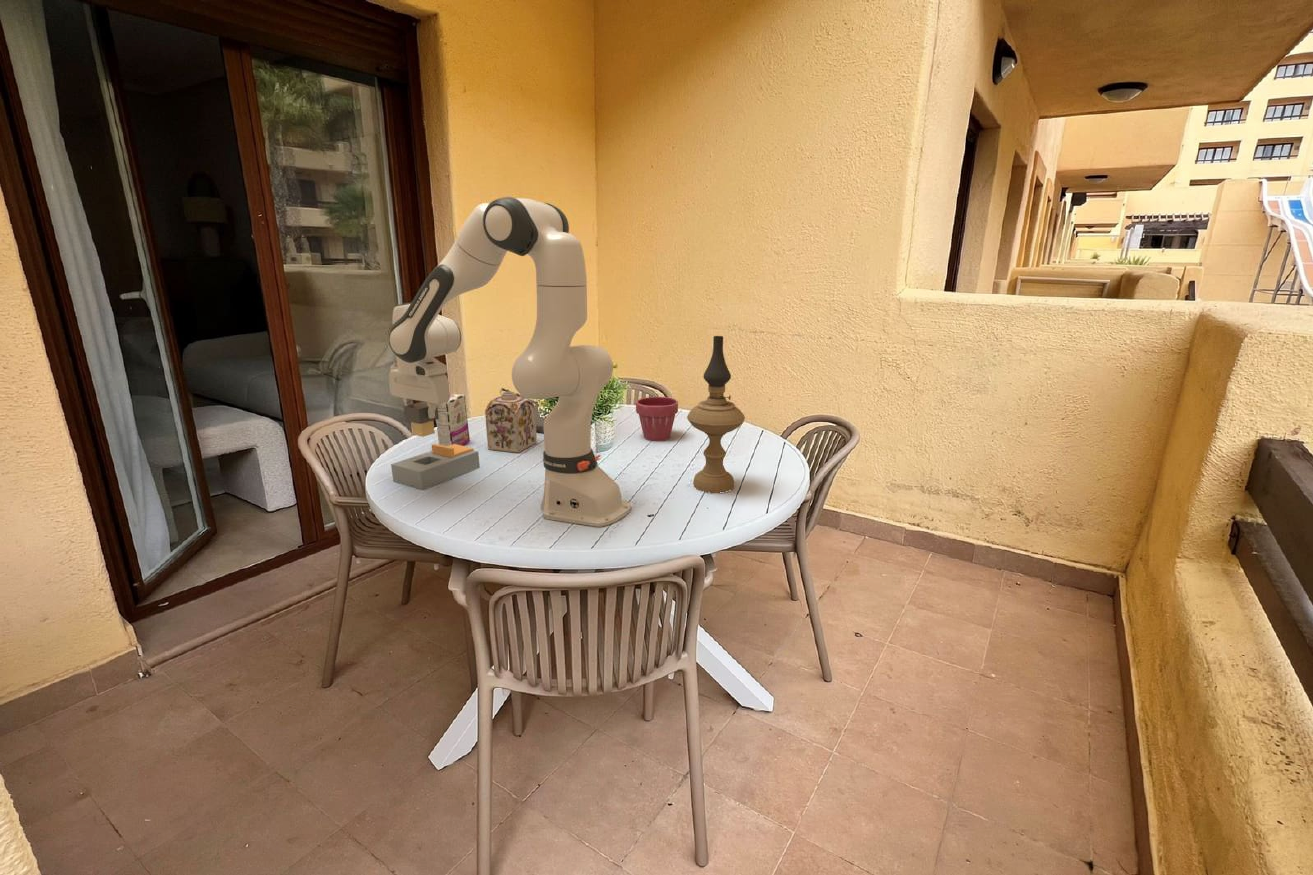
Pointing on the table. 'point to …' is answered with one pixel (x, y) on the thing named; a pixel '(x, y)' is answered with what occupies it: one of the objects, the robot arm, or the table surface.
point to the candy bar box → (453, 421)
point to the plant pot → (657, 416)
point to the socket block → (433, 468)
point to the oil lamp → (715, 423)
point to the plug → (420, 419)
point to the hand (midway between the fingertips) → (421, 415)
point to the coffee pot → (537, 417)
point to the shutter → (450, 450)
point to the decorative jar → (510, 423)
